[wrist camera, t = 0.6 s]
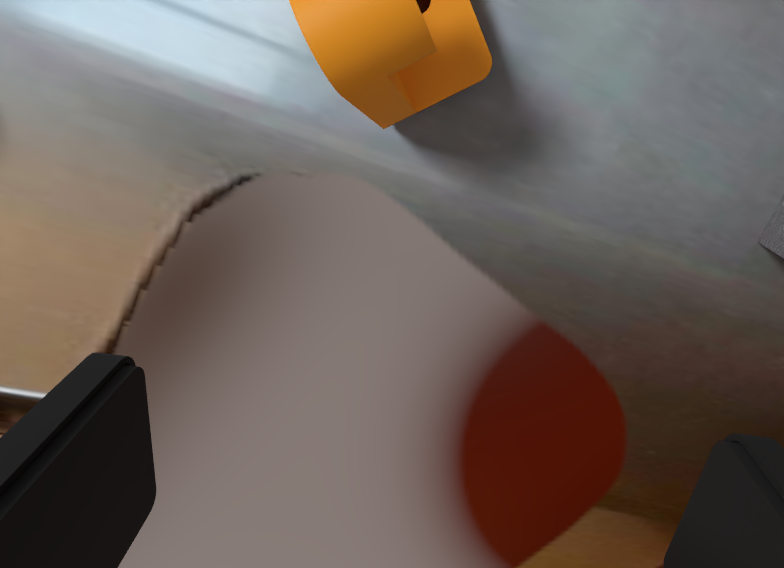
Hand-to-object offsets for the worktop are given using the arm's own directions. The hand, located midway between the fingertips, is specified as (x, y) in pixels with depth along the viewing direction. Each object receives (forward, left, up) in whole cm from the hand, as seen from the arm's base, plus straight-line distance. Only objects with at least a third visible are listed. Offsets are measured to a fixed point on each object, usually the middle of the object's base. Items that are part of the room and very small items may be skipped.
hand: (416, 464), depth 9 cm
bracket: (-7, -4, -30) cm, 31 cm away
